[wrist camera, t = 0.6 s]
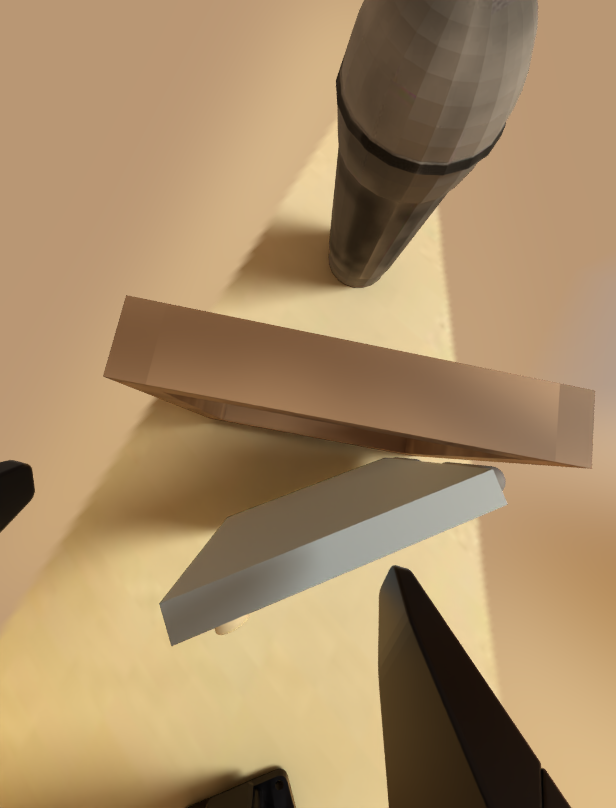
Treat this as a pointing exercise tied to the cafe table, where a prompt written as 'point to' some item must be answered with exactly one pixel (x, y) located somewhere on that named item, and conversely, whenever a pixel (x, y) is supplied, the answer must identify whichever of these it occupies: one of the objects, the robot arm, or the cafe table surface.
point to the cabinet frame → (347, 389)
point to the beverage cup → (418, 116)
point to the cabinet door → (323, 537)
